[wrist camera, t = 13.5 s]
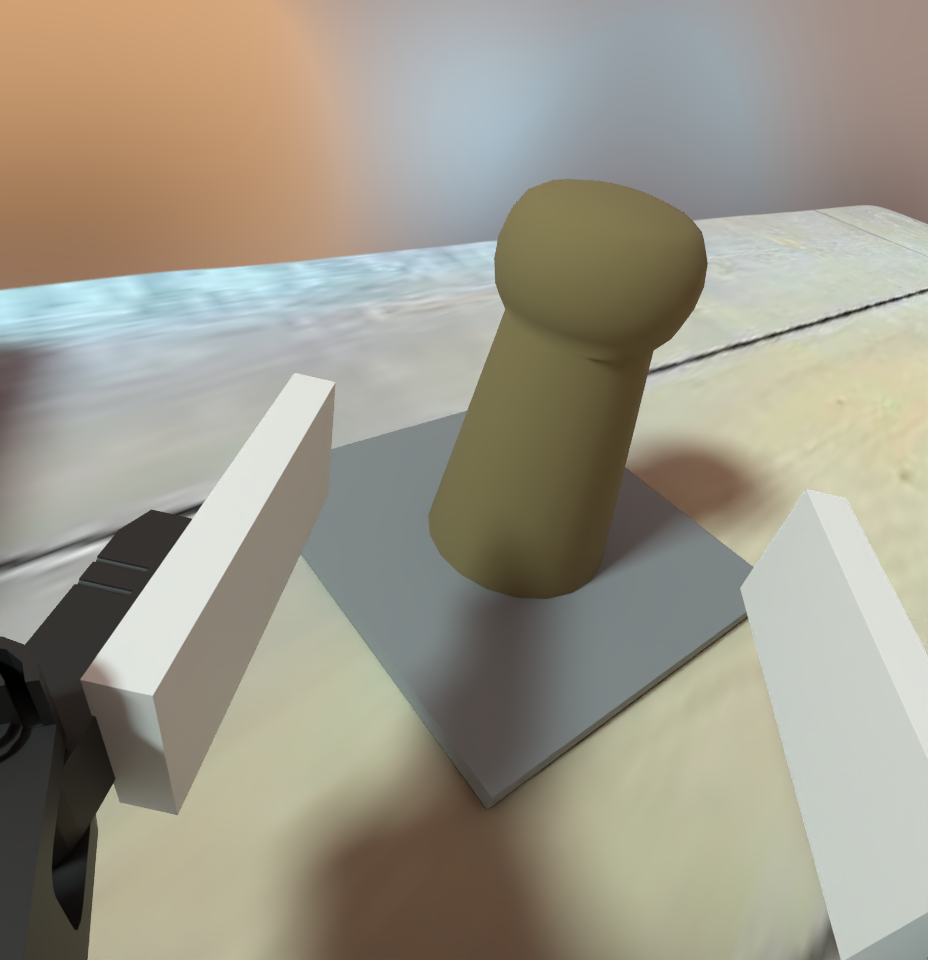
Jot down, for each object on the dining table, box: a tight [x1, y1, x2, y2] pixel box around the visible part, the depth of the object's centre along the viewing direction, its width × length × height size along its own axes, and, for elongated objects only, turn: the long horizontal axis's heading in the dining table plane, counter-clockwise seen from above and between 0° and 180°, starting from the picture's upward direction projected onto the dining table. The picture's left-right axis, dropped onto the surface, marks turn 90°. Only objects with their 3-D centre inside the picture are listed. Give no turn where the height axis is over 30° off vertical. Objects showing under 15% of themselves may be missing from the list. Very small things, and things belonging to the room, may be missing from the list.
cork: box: [428, 179, 708, 599], centre depth 19 cm, size 6×6×11 cm
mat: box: [301, 411, 754, 810], centre depth 22 cm, size 13×13×1 cm
